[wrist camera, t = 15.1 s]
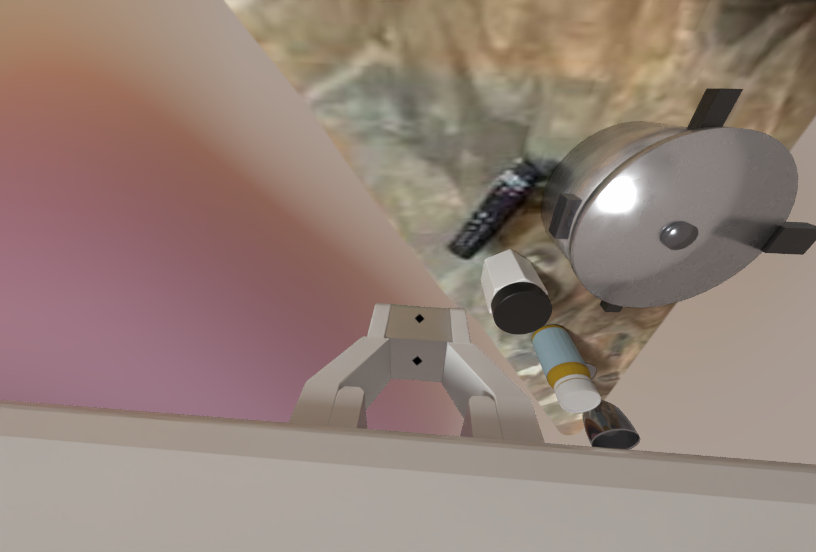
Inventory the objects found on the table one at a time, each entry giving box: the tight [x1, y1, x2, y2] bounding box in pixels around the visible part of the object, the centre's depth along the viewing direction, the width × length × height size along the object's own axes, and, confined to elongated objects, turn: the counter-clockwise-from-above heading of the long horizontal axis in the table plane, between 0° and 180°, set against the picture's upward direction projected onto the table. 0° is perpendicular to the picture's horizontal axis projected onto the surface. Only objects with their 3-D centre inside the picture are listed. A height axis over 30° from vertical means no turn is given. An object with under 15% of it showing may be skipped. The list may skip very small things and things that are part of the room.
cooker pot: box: [541, 89, 743, 312], centre depth 38 cm, size 27×21×12 cm
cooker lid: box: [569, 126, 816, 308], centre depth 32 cm, size 21×24×2 cm
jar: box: [481, 249, 552, 334], centre depth 46 cm, size 9×8×12 cm
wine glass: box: [583, 363, 640, 450], centre depth 58 cm, size 8×8×15 cm
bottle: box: [532, 325, 601, 413], centre depth 53 cm, size 7×7×15 cm
